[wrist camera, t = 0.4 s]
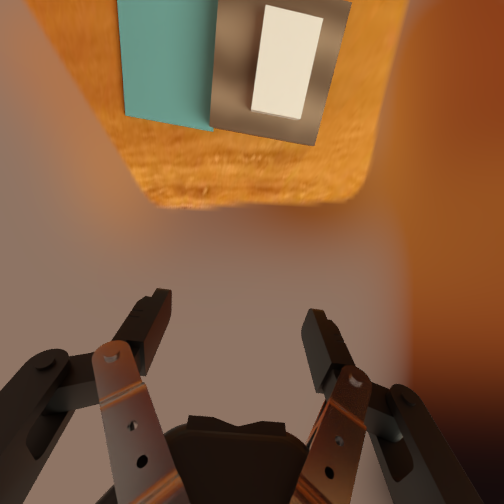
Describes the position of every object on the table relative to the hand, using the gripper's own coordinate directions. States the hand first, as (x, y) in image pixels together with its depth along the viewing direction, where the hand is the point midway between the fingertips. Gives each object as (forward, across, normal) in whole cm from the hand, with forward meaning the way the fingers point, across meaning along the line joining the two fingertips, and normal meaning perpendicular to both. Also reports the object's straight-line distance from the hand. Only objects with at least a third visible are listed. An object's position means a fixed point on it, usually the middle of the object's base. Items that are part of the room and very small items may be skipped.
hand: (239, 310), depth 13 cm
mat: (+27, +12, -16) cm, 34 cm away
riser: (+27, -1, -16) cm, 32 cm away
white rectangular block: (+22, -2, -16) cm, 28 cm away
